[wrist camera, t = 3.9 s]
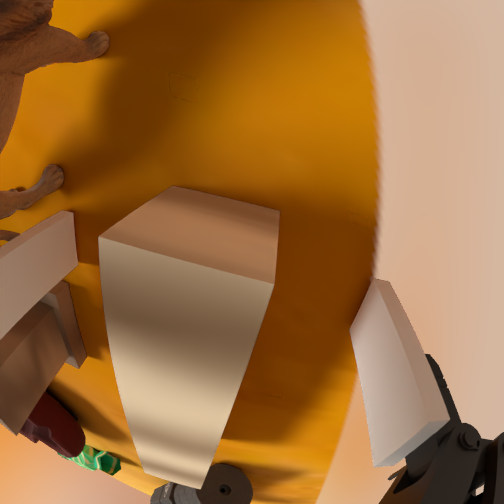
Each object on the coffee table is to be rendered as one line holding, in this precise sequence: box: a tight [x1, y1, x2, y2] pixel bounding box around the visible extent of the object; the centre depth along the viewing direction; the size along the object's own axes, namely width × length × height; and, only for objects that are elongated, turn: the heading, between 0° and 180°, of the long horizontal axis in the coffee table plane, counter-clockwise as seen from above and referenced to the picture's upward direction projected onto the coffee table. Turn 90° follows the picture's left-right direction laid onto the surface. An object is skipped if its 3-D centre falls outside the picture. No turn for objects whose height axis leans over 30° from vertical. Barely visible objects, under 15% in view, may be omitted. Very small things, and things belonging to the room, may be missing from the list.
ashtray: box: [19, 391, 85, 458], centre depth 19 cm, size 18×16×5 cm
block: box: [98, 186, 280, 489], centre depth 12 cm, size 18×4×5 cm, turn 167°
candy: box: [57, 445, 121, 476], centre depth 26 cm, size 12×3×4 cm
